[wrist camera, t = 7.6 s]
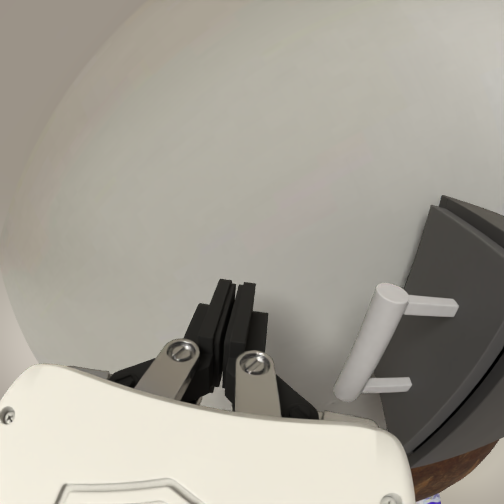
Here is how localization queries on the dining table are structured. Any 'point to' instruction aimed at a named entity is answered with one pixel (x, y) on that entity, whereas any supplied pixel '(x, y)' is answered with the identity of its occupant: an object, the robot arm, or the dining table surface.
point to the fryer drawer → (431, 331)
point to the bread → (446, 472)
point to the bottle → (430, 500)
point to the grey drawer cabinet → (489, 391)
